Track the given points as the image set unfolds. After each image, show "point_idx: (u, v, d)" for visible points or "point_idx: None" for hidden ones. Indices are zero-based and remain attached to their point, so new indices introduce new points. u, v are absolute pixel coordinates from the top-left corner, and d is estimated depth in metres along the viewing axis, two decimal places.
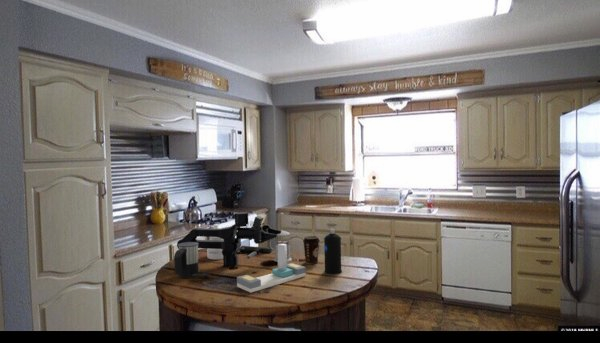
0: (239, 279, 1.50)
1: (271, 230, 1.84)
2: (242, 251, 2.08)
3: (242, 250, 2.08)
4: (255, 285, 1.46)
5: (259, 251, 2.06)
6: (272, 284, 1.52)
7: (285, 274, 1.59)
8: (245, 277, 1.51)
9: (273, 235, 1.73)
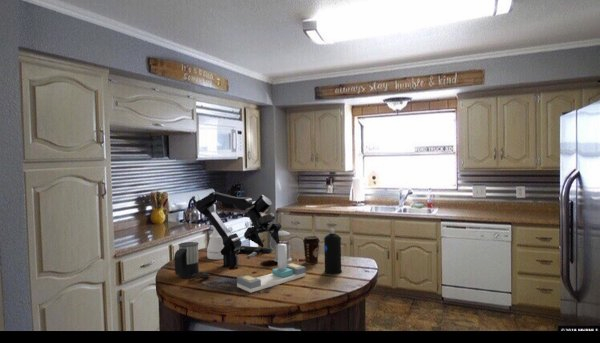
0: (239, 279, 1.50)
1: (275, 234, 1.73)
2: (242, 251, 2.08)
3: (242, 250, 2.08)
4: (255, 285, 1.46)
5: (259, 251, 2.06)
6: (272, 284, 1.52)
7: (285, 274, 1.59)
8: (245, 277, 1.51)
9: (260, 244, 1.65)
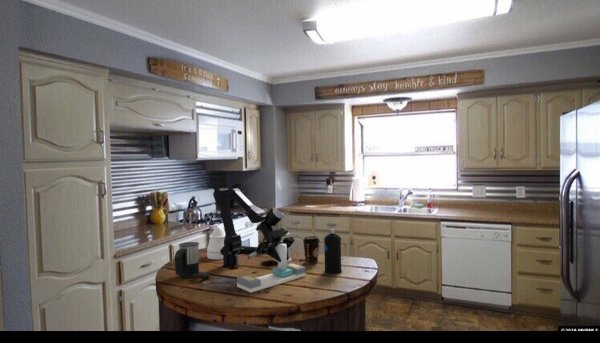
0: (239, 279, 1.50)
1: None
2: (242, 251, 2.08)
3: (242, 250, 2.08)
4: (255, 285, 1.46)
5: None
6: (272, 284, 1.52)
7: (285, 274, 1.59)
8: (245, 277, 1.51)
9: (278, 258, 1.60)
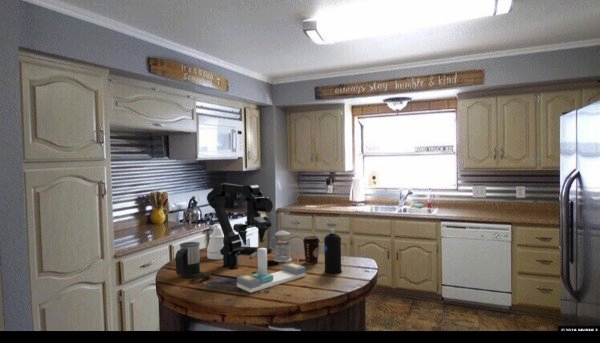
0: (239, 279, 1.50)
1: (262, 231, 1.77)
2: (242, 252, 2.07)
3: (242, 251, 2.06)
4: (255, 285, 1.46)
5: None
6: (272, 284, 1.52)
7: (265, 280, 1.51)
8: (245, 277, 1.51)
9: (244, 242, 1.71)
